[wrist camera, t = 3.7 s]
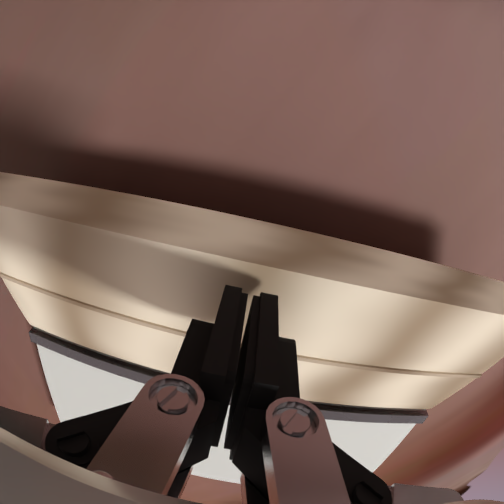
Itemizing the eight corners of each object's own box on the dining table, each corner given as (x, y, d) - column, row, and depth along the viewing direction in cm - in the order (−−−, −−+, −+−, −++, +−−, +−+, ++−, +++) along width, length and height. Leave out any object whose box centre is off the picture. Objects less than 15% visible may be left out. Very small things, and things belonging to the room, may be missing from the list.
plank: (528, 289, 11) (542, 324, 10) (427, 382, 18) (430, 410, 17) (-9, 170, 11) (-38, 198, 9) (43, 300, 18) (29, 325, 16)
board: (418, 390, 19) (428, 415, 17) (351, 474, 24) (354, 495, 21) (48, 311, 19) (29, 331, 16) (72, 416, 23) (61, 435, 21)
